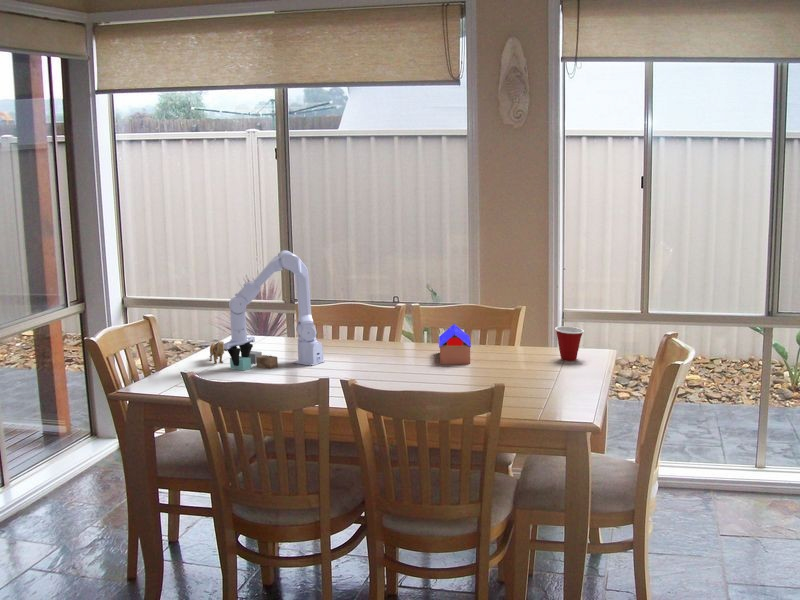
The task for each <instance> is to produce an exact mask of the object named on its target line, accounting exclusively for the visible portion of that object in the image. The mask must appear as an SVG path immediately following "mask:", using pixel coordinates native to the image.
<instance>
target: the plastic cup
mask: <svg viewBox="0 0 800 600" xmlns="http://www.w3.org/2000/svg"><path fill="white" fill-rule="evenodd" d="M554 329H555V332H556V338H557V344H558V350H559V353H560V354H559V356H560V360H562V361H565V362H574V361H576V360H577V357H578V354H579V353H578V352H579V349H580V344H581V339H582V336H583V333H584V332H585V330H584V329H582V328H579V327H574V326H565V325H564V326H562V325H561V326H560V325H559V326H556V327H555V328H554Z"/></svg>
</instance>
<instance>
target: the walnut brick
mask: <svg viewBox="0 0 800 600" xmlns="http://www.w3.org/2000/svg"><path fill="white" fill-rule="evenodd" d="M256 362H257V364H256V368H261V369H267V370H268V369H269V370H272V369H275V368H278V367H279V366H278V365H279V363H278V362H279V361H278V356H273V355H265V354H262V355H261V356H258V357H256Z"/></svg>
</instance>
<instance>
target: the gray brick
mask: <svg viewBox="0 0 800 600" xmlns="http://www.w3.org/2000/svg"><path fill="white" fill-rule="evenodd" d="M261 355H263V352H262V351H255V350H251V351H250V354H249V358H251V365H252V364H254V365H255V364H256V365H257V362H256V357H258V356H261ZM240 356H241V355H240ZM241 357H242V356H241Z"/></svg>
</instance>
